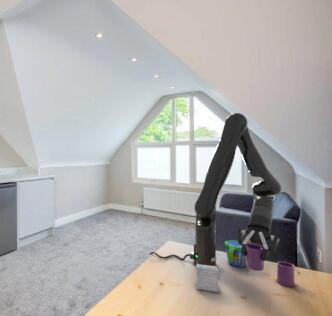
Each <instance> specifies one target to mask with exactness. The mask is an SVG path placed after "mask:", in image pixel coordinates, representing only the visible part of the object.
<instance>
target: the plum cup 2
mask: <svg viewBox="0 0 332 316" xmlns="http://www.w3.org/2000/svg"><path fill="white" fill-rule="evenodd" d="M276 278H277V279H276V280H277V283H278V284H279V285H281V286H284V287H288V288H293V287H295V265H294V264H293V263H290V262H288V261H277V263H276Z"/></svg>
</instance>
